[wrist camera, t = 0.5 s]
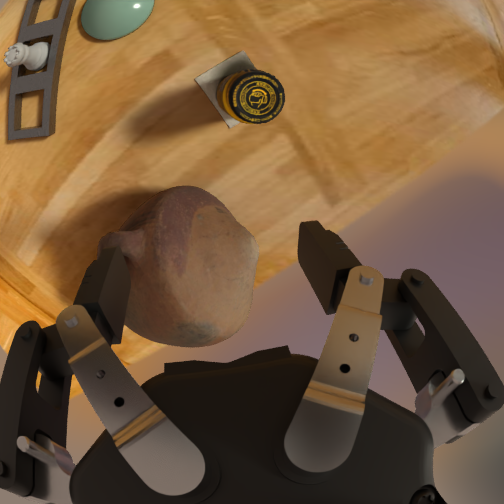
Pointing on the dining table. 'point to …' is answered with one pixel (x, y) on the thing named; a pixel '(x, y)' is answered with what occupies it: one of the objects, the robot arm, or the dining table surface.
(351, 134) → the dining table surface
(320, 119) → the dining table surface
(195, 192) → the jug
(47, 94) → the grey compartment tray
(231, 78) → the condiment
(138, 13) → the green dome
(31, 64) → the rook chess piece
